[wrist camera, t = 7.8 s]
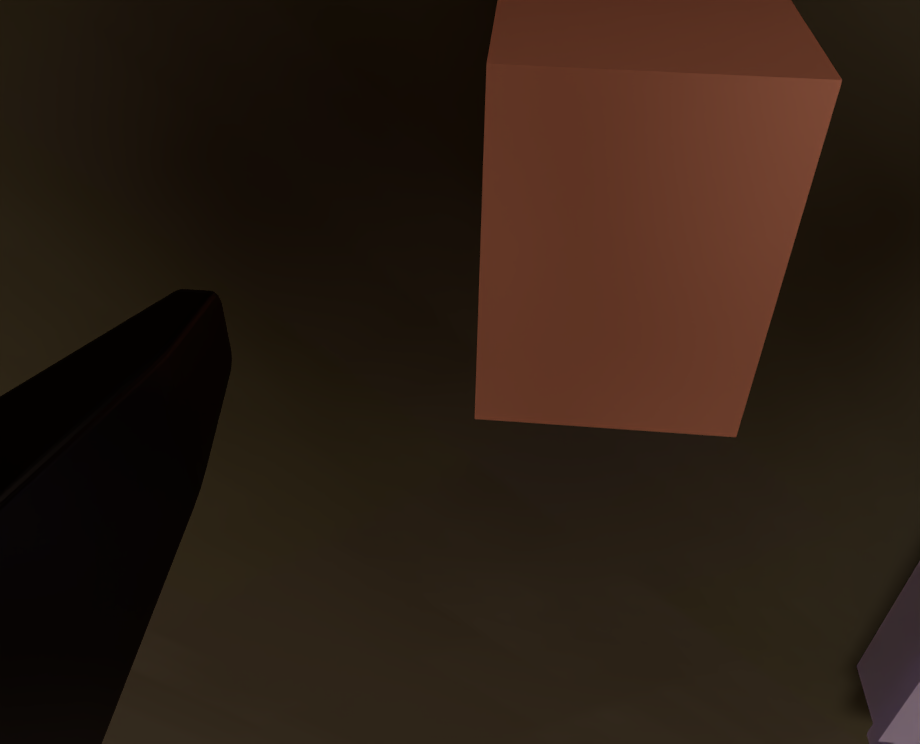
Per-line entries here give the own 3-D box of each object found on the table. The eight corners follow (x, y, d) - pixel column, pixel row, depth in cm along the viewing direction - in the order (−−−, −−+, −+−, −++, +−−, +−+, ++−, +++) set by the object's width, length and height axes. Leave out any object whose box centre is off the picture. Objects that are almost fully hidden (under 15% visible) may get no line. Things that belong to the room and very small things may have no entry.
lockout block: (498, 207, 17) (475, 419, 12) (511, -79, 14) (486, 63, 9) (687, 217, 17) (736, 436, 12) (746, -69, 13) (842, 80, 9)
